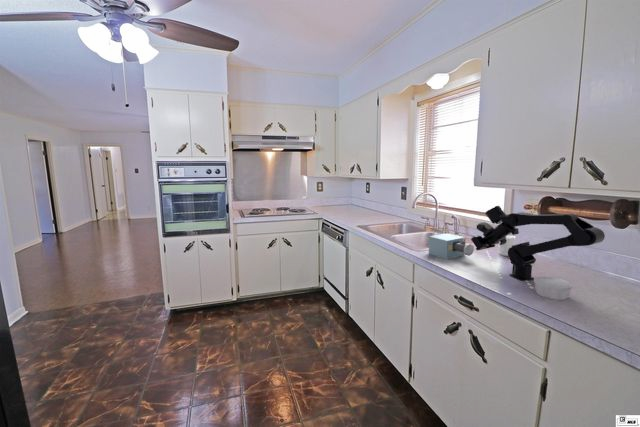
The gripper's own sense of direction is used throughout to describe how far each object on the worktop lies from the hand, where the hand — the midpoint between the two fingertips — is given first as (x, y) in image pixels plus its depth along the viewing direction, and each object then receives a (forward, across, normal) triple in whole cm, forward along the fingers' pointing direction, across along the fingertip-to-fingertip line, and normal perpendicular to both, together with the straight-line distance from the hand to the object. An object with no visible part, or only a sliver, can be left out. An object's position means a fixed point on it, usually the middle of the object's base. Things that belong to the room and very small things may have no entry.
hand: (476, 249), depth 144 cm
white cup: (+7, -27, +4) cm, 28 cm away
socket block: (+18, 0, -8) cm, 19 cm away
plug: (+11, 0, -5) cm, 12 cm away
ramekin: (-21, +8, +31) cm, 39 cm away
